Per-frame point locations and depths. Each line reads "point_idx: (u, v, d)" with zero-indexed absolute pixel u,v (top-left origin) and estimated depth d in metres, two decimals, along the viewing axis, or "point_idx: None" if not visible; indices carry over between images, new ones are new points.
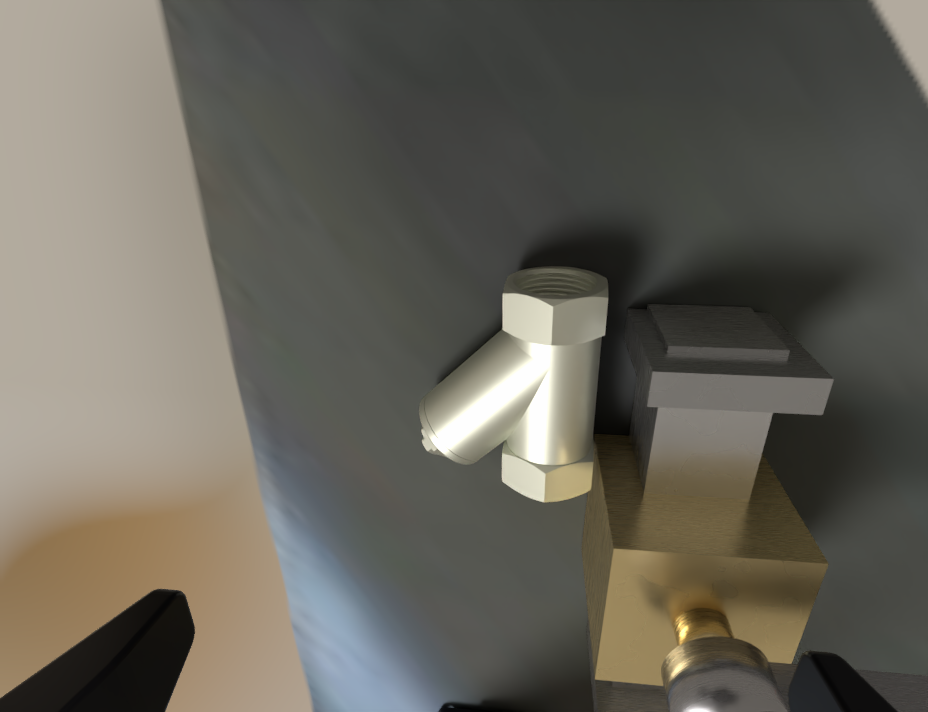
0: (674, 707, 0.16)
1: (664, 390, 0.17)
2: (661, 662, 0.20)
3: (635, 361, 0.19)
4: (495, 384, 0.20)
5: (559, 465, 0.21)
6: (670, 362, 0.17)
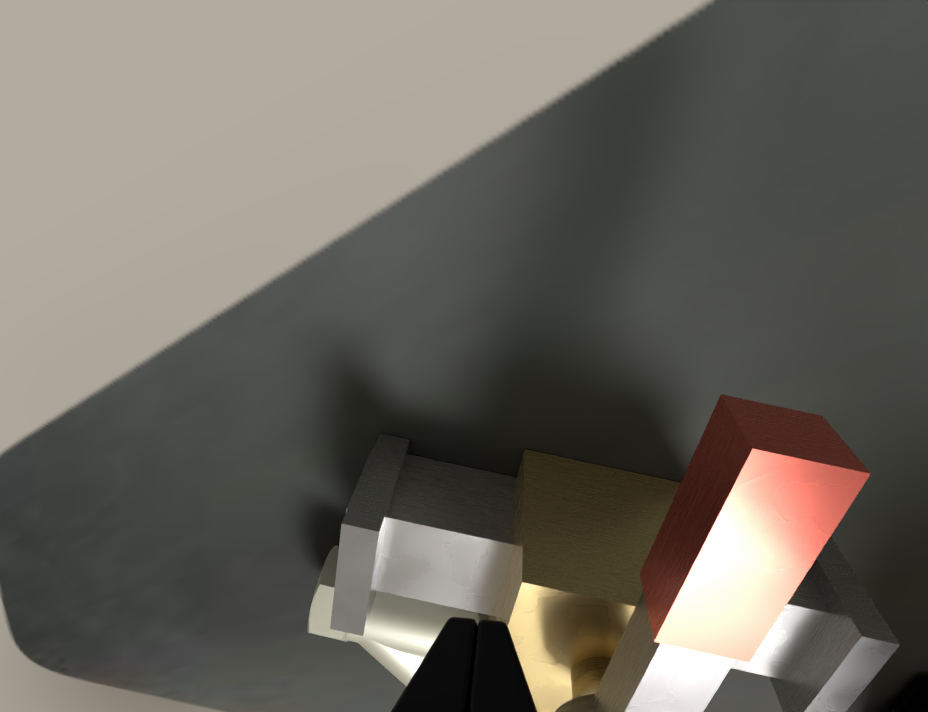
0: None
1: (348, 624, 0.20)
2: None
3: None
4: (384, 665, 0.24)
5: None
6: None
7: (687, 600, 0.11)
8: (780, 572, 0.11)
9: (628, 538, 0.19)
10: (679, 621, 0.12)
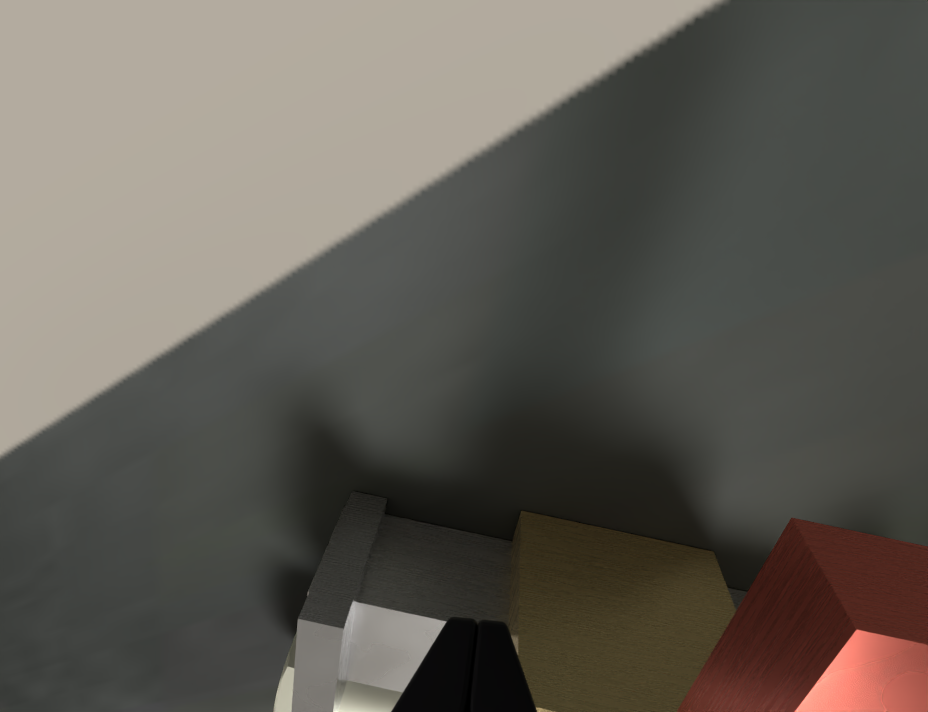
0: None
1: None
2: None
3: None
4: None
5: None
6: None
7: None
8: None
9: (645, 631, 0.15)
10: None
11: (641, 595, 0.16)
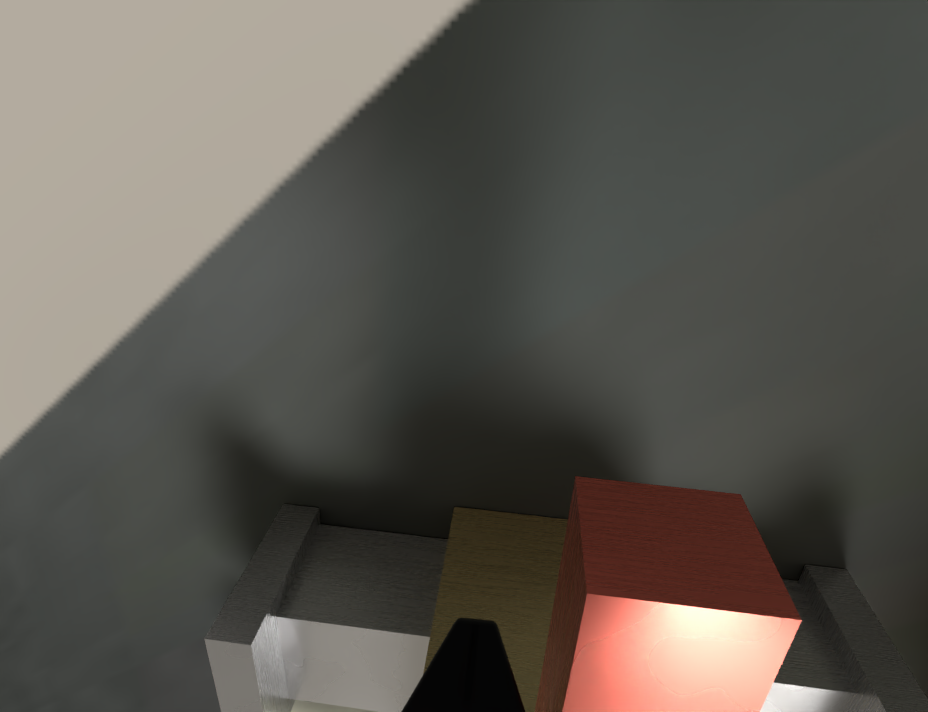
0: None
1: None
2: None
3: None
4: None
5: None
6: None
7: None
8: None
9: None
10: None
11: None
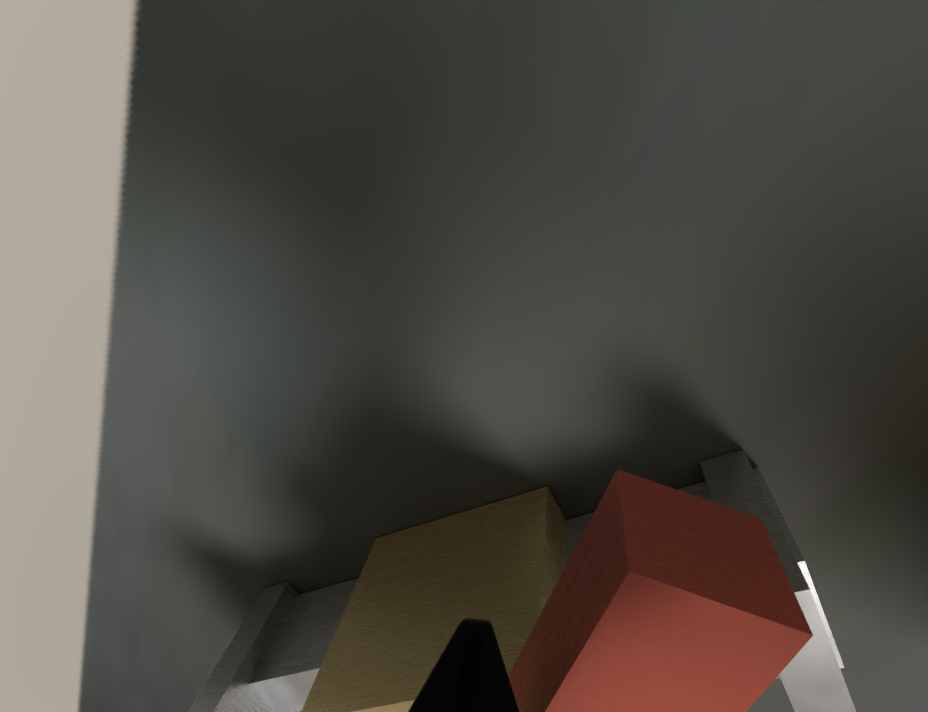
0: None
1: None
2: None
3: None
4: None
5: None
6: None
7: None
8: None
9: (441, 602, 0.15)
10: None
11: (452, 567, 0.16)
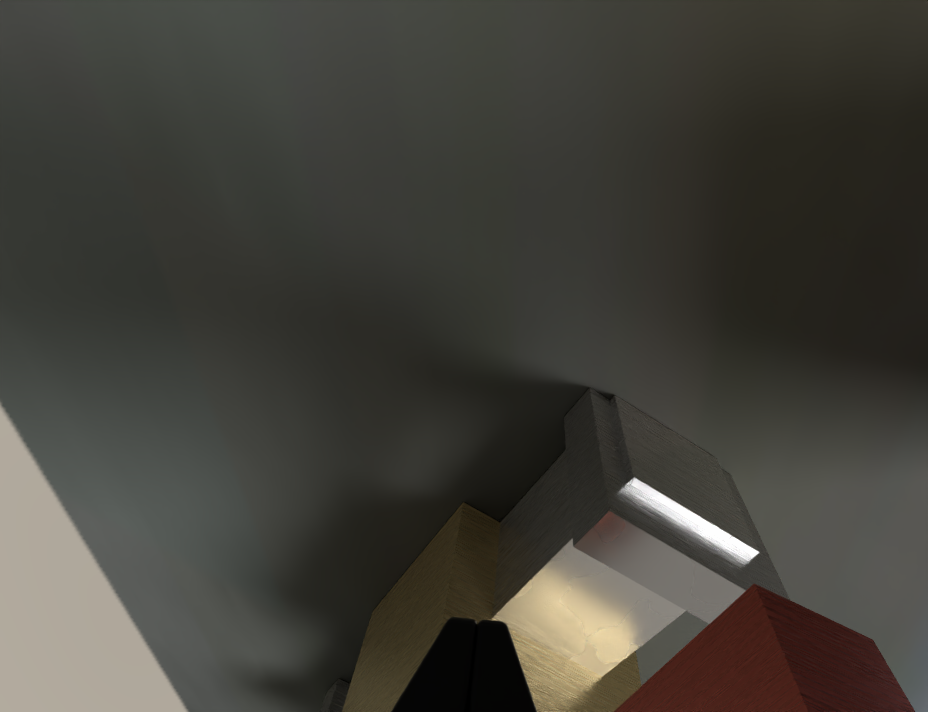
0: None
1: None
2: None
3: None
4: None
5: None
6: None
7: None
8: None
9: (394, 654, 0.16)
10: None
11: (404, 616, 0.17)
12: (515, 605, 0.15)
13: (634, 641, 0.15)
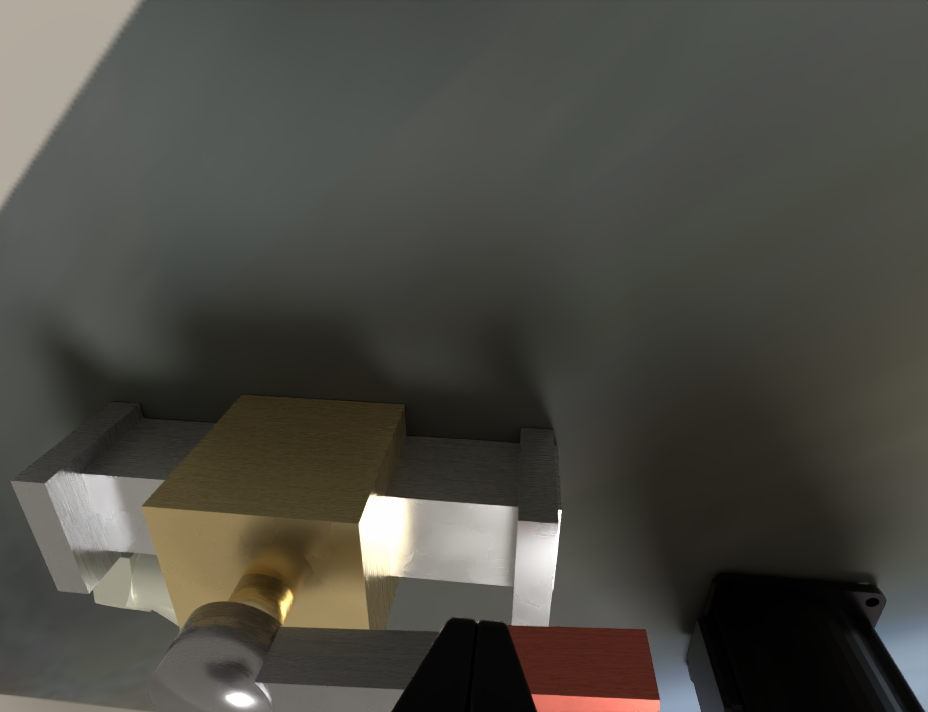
0: None
1: (70, 583, 0.21)
2: (329, 624, 0.18)
3: None
4: None
5: None
6: None
7: None
8: None
9: (293, 458, 0.19)
10: None
11: (309, 437, 0.20)
12: (408, 503, 0.19)
13: (435, 575, 0.20)
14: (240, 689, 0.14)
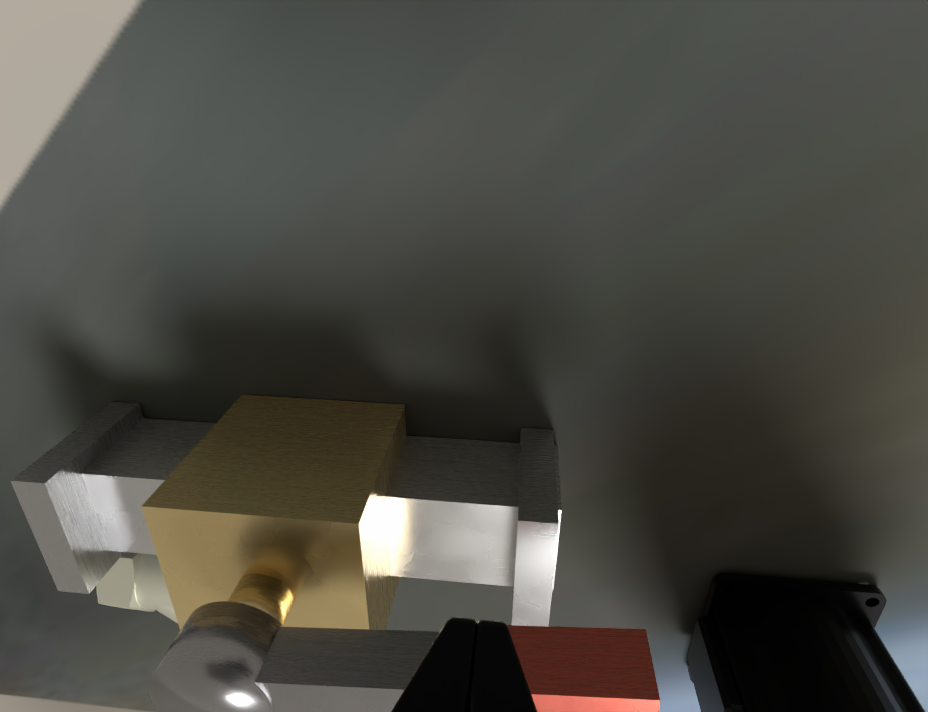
0: None
1: (70, 583, 0.21)
2: (329, 624, 0.18)
3: None
4: None
5: None
6: None
7: None
8: None
9: (293, 458, 0.19)
10: None
11: (309, 437, 0.20)
12: (408, 503, 0.19)
13: (435, 575, 0.20)
14: (240, 689, 0.14)
